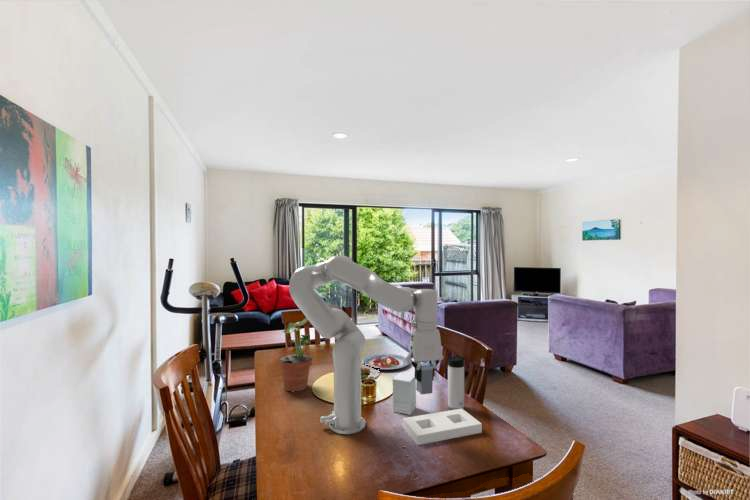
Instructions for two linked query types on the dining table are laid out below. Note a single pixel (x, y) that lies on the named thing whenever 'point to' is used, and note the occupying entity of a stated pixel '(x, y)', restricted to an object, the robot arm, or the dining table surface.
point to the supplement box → (404, 393)
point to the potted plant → (296, 362)
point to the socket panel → (441, 426)
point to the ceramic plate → (386, 361)
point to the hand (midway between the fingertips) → (424, 379)
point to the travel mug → (456, 382)
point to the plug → (425, 379)
